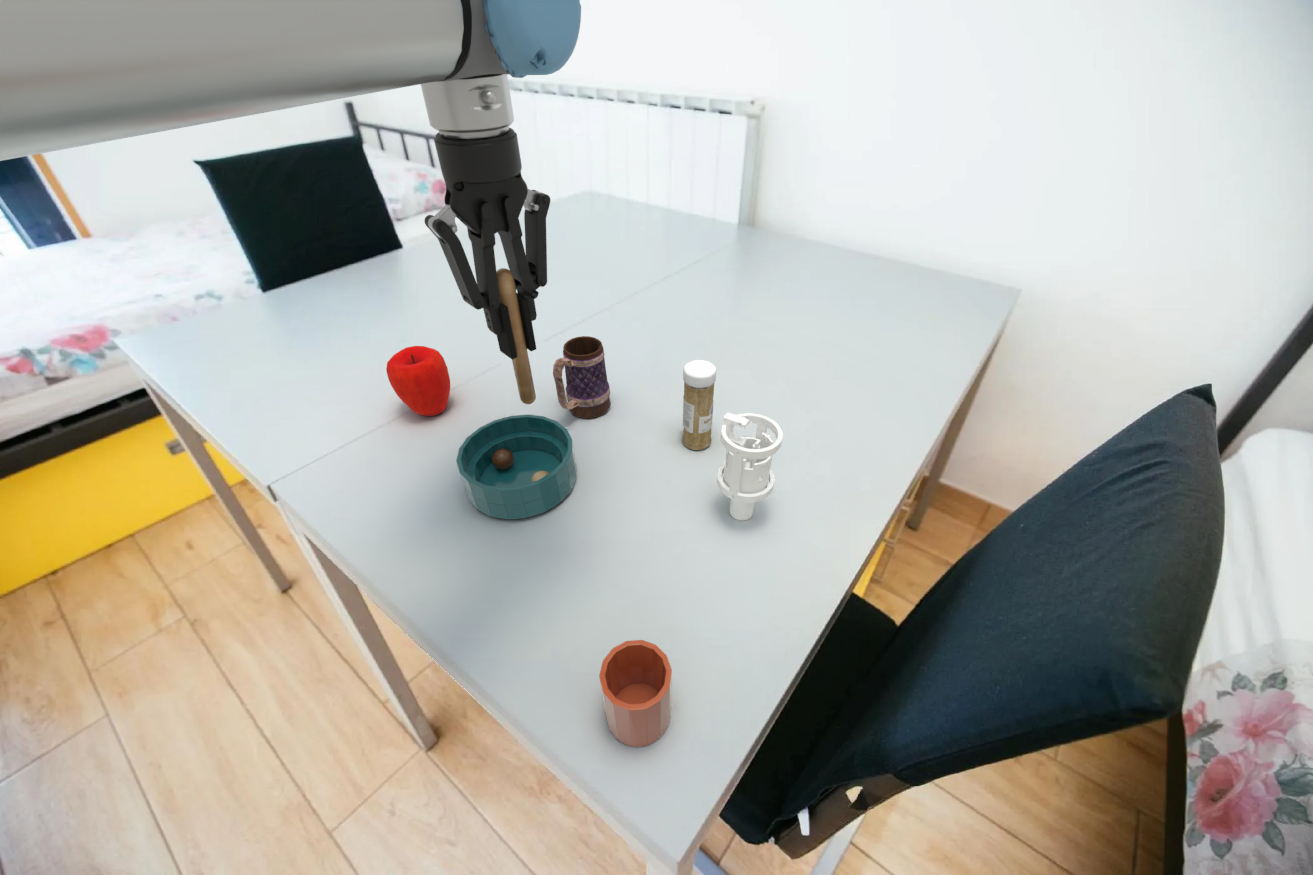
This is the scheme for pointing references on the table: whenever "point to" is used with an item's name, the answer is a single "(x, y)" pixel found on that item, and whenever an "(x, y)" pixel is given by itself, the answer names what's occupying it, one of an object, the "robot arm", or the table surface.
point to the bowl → (518, 466)
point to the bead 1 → (502, 459)
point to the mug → (583, 378)
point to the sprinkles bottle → (698, 403)
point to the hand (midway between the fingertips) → (518, 349)
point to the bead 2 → (539, 475)
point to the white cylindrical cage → (747, 463)
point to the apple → (420, 379)
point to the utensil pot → (636, 692)
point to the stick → (516, 336)
